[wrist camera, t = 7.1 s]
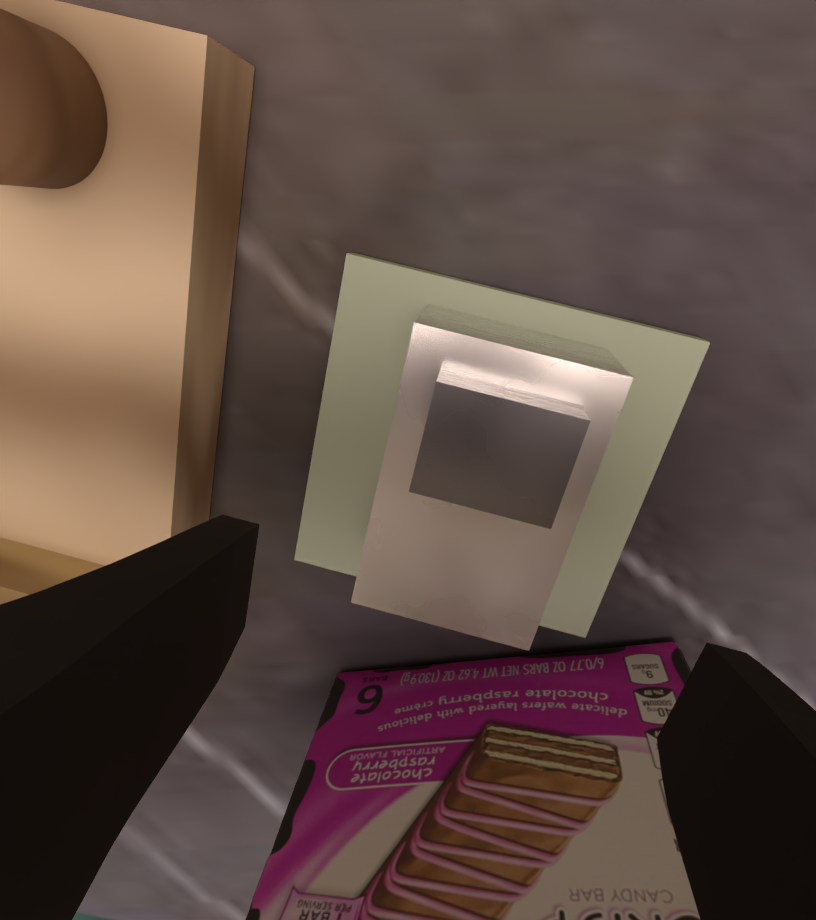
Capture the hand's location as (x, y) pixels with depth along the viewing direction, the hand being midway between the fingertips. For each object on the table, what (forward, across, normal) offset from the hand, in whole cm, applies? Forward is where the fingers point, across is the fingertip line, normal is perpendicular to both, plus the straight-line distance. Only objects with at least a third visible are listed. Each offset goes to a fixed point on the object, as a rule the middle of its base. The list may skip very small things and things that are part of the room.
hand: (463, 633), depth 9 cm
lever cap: (+7, 0, 0) cm, 7 cm away
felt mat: (+8, 0, 0) cm, 8 cm away
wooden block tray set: (+8, +11, +1) cm, 13 cm away
